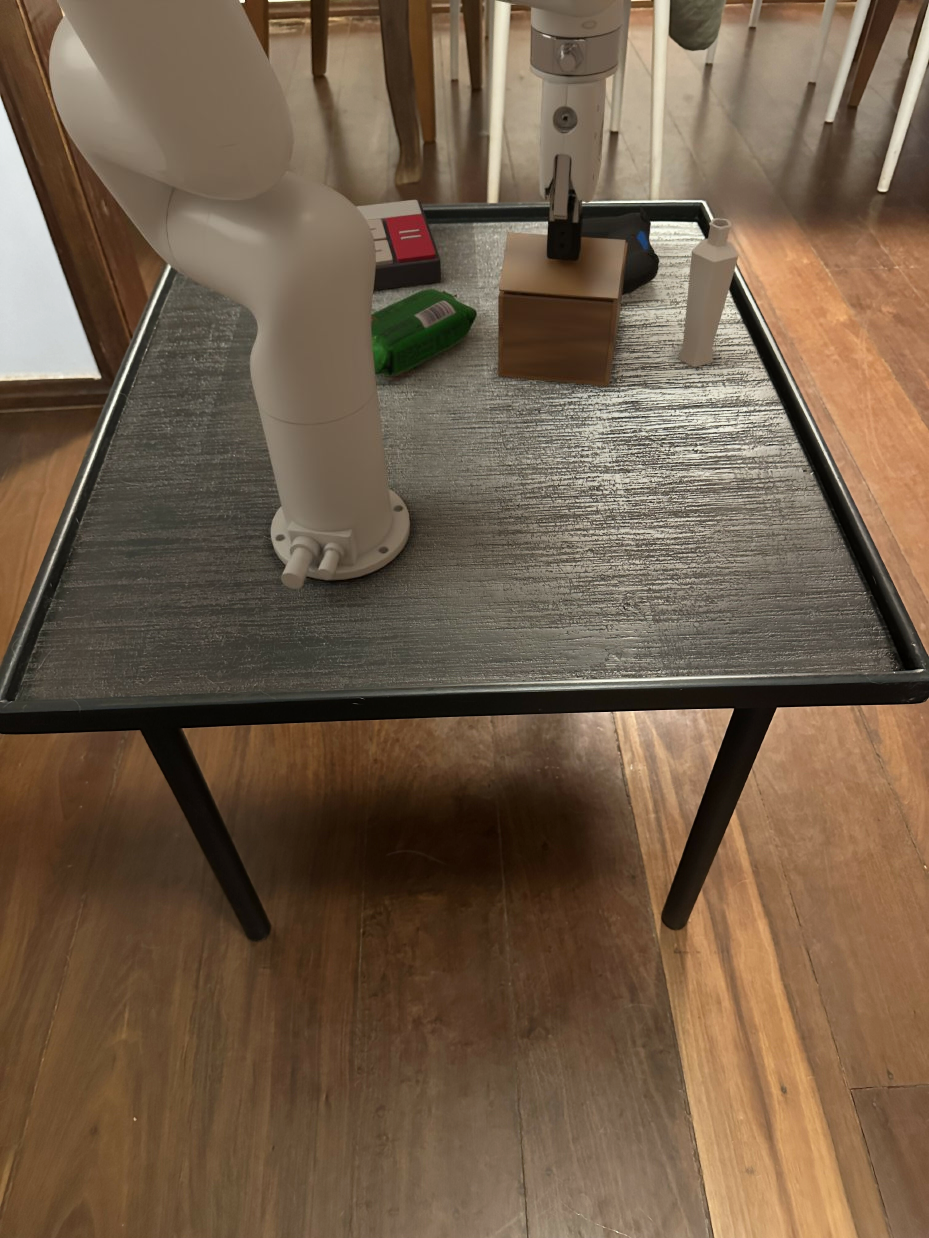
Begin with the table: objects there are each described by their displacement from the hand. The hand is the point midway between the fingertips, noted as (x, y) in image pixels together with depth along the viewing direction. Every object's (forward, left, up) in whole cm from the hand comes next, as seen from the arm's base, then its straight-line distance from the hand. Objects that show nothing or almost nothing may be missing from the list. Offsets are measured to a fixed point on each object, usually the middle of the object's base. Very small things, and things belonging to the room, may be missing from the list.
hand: (563, 255), depth 91 cm
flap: (0, 0, -1) cm, 1 cm away
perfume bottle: (+4, -15, -13) cm, 20 cm away
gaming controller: (+20, -4, -13) cm, 24 cm away
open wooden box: (+3, 0, -13) cm, 13 cm away
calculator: (+20, +24, -13) cm, 34 cm away
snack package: (0, +16, -13) cm, 21 cm away
